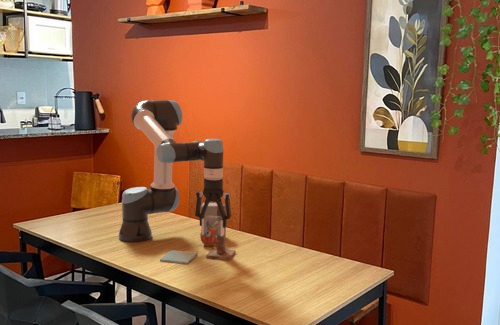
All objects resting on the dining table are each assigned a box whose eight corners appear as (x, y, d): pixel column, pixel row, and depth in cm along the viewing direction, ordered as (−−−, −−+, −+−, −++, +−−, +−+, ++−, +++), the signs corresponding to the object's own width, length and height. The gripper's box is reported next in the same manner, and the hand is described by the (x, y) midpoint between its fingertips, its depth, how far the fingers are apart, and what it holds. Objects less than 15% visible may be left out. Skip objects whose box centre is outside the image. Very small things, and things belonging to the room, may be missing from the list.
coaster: (159, 261, 207) (159, 259, 207) (171, 252, 219) (171, 250, 219) (187, 263, 205) (187, 262, 205) (197, 254, 216) (197, 252, 216)
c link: (203, 236, 202) (203, 216, 201) (205, 234, 205) (205, 215, 204) (220, 237, 200) (220, 218, 199) (222, 235, 203) (222, 216, 202)
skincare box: (220, 233, 247) (220, 202, 245) (217, 238, 240) (218, 205, 238) (203, 233, 248) (203, 201, 246) (200, 237, 241) (200, 205, 238)
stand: (200, 263, 205) (200, 211, 202) (213, 250, 222) (213, 201, 219) (224, 266, 203) (224, 213, 200) (235, 252, 220) (236, 203, 216)
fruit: (223, 244, 230) (223, 223, 229) (208, 249, 223) (208, 227, 222) (210, 240, 236) (211, 220, 234) (195, 245, 229) (195, 223, 228)
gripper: (186, 178, 198) (186, 235, 201) (235, 181, 193) (234, 239, 197) (192, 175, 205) (192, 230, 208) (240, 178, 201) (239, 234, 204)
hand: (213, 234), depth 203 cm, fingers closed on c link, 7 cm apart
